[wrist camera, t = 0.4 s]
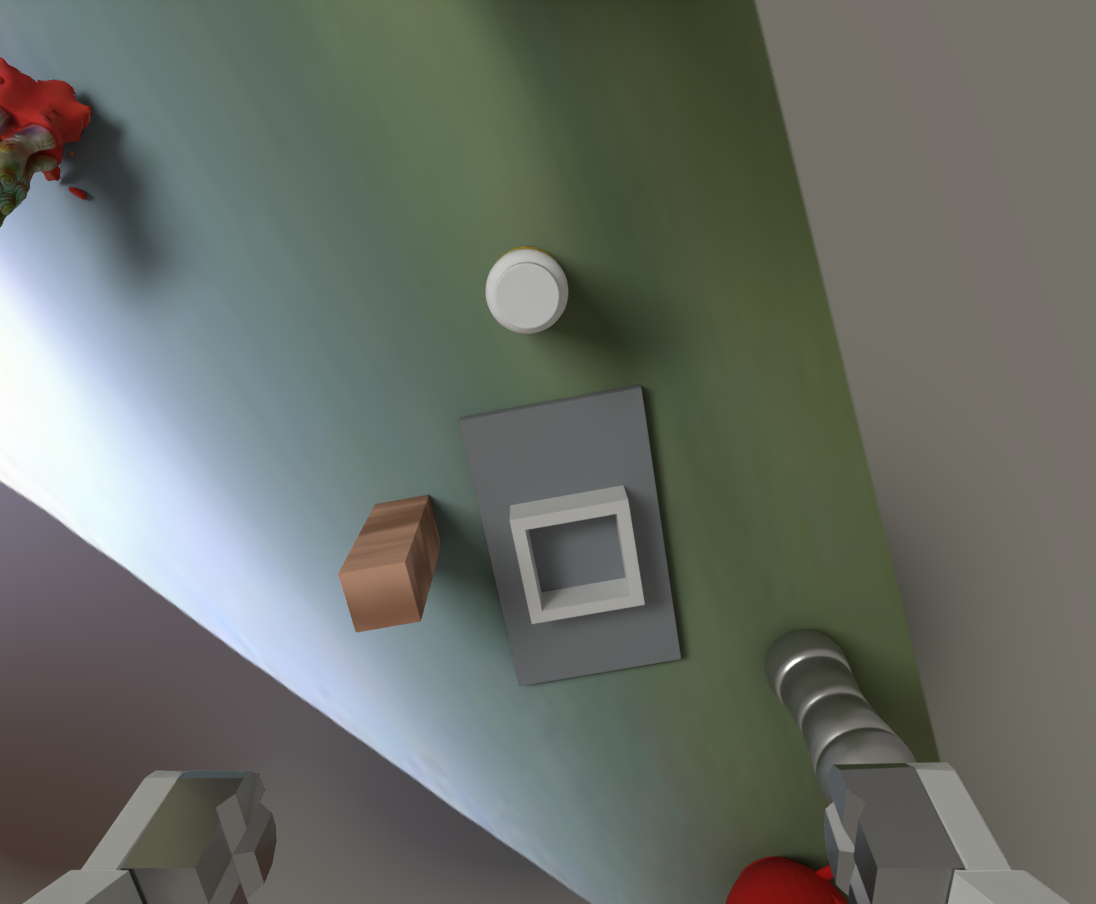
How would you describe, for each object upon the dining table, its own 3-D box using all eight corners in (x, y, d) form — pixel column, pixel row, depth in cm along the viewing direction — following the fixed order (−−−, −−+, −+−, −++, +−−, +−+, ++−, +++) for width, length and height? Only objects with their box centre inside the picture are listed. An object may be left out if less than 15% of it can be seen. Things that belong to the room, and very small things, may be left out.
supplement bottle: (579, 288, 55) (589, 304, 45) (522, 335, 56) (521, 360, 46) (532, 228, 53) (532, 232, 44) (475, 278, 54) (463, 291, 45)
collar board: (460, 417, 58) (455, 431, 54) (639, 384, 57) (647, 397, 53) (519, 679, 65) (518, 708, 61) (678, 652, 64) (688, 679, 61)
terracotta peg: (375, 504, 60) (338, 573, 48) (429, 494, 59) (404, 562, 48) (388, 553, 61) (355, 632, 50) (441, 544, 61) (420, 621, 49)
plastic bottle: (841, 671, 65) (969, 860, 46) (766, 693, 66) (862, 889, 47) (826, 609, 63) (952, 780, 44) (748, 633, 64) (841, 812, 45)
